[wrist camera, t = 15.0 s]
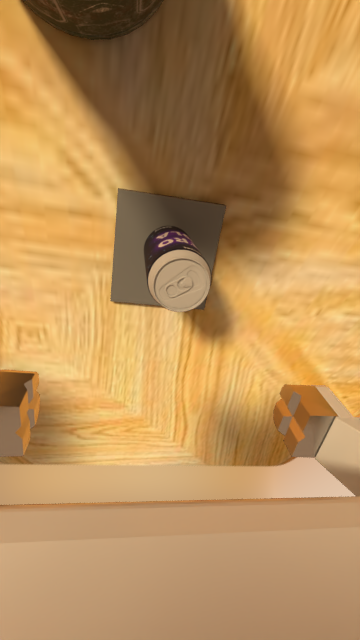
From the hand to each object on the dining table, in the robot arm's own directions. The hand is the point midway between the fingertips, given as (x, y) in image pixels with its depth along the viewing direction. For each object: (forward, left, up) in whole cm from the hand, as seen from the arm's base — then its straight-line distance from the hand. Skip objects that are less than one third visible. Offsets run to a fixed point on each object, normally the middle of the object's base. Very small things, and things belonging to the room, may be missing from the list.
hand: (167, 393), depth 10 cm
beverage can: (+3, -2, -28) cm, 29 cm away
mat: (+3, -3, -29) cm, 29 cm away
